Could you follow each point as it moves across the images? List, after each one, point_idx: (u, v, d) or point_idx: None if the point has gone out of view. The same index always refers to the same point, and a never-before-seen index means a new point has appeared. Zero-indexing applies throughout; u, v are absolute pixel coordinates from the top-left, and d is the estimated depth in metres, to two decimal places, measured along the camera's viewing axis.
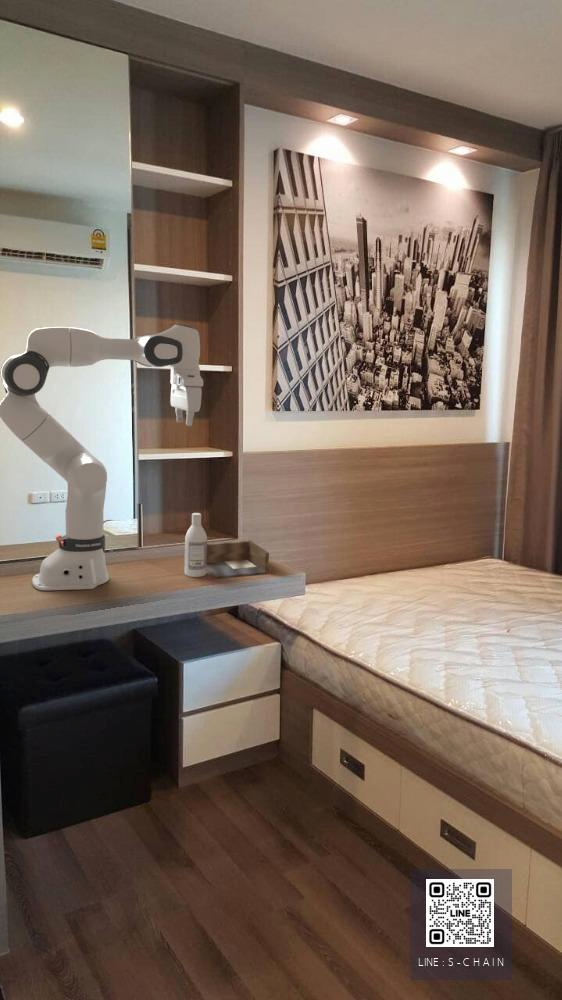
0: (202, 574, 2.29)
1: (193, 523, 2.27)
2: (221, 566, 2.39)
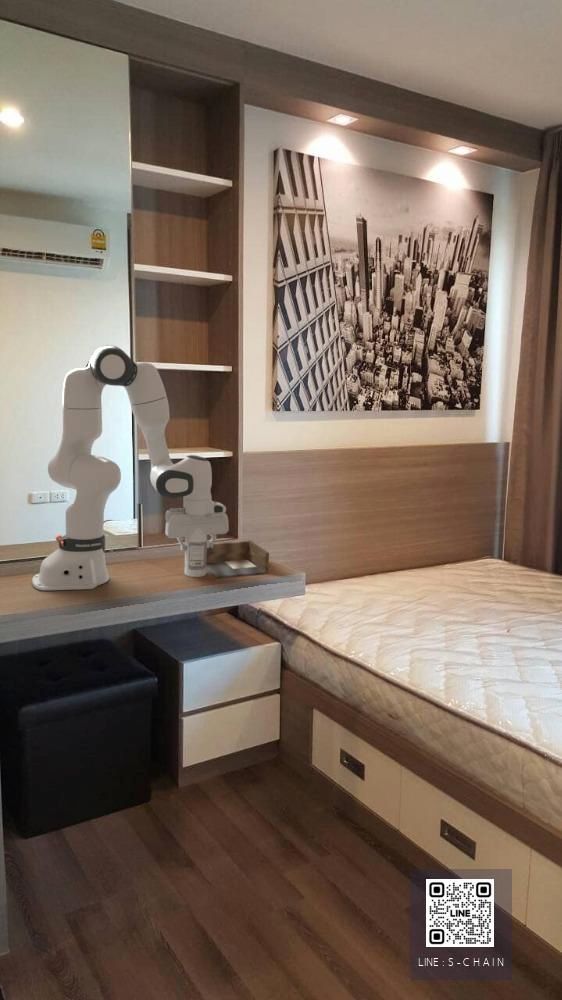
0: (202, 574, 2.29)
1: None
2: (221, 566, 2.39)
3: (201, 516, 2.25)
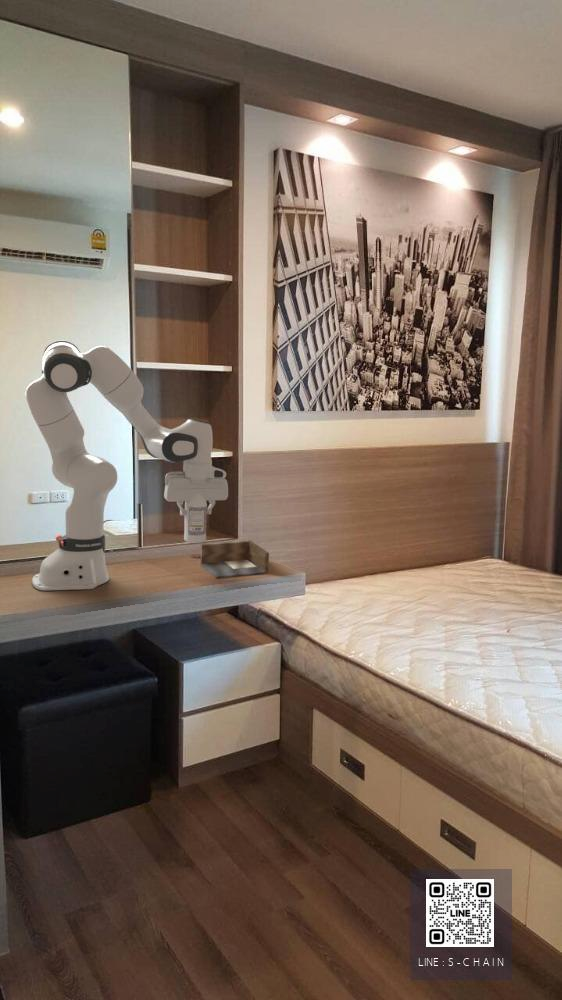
0: (202, 540, 2.27)
1: None
2: (221, 566, 2.39)
3: (201, 480, 2.23)
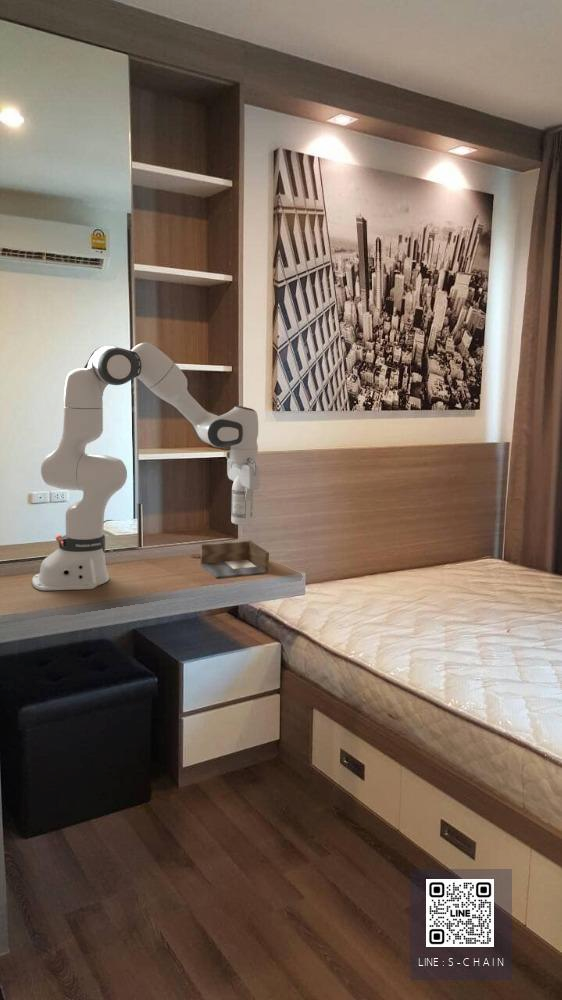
0: None
1: None
2: (221, 566, 2.39)
3: None
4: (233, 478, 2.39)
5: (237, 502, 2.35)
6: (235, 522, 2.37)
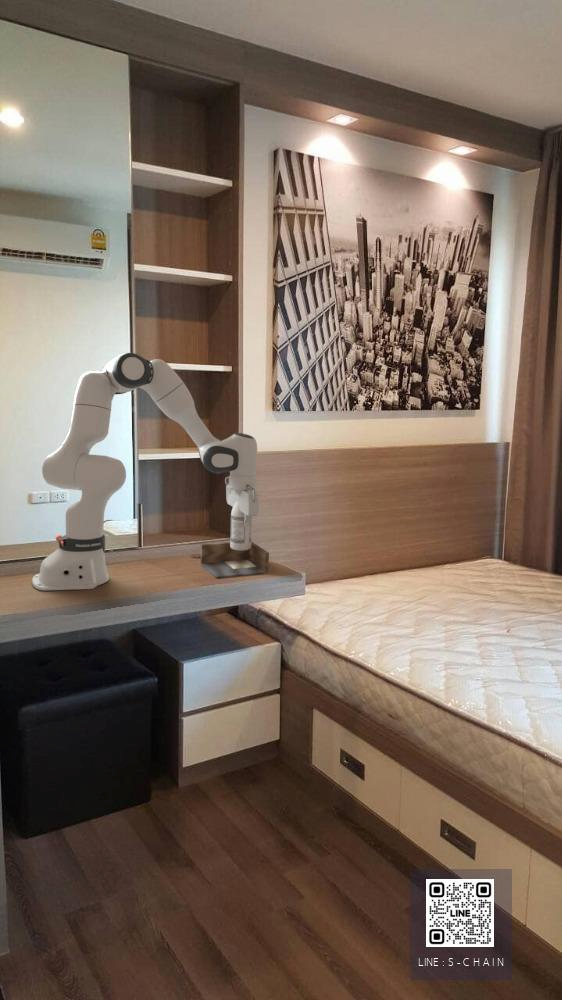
0: None
1: None
2: (221, 566, 2.39)
3: None
4: (232, 504, 2.42)
5: (236, 528, 2.37)
6: (234, 548, 2.39)
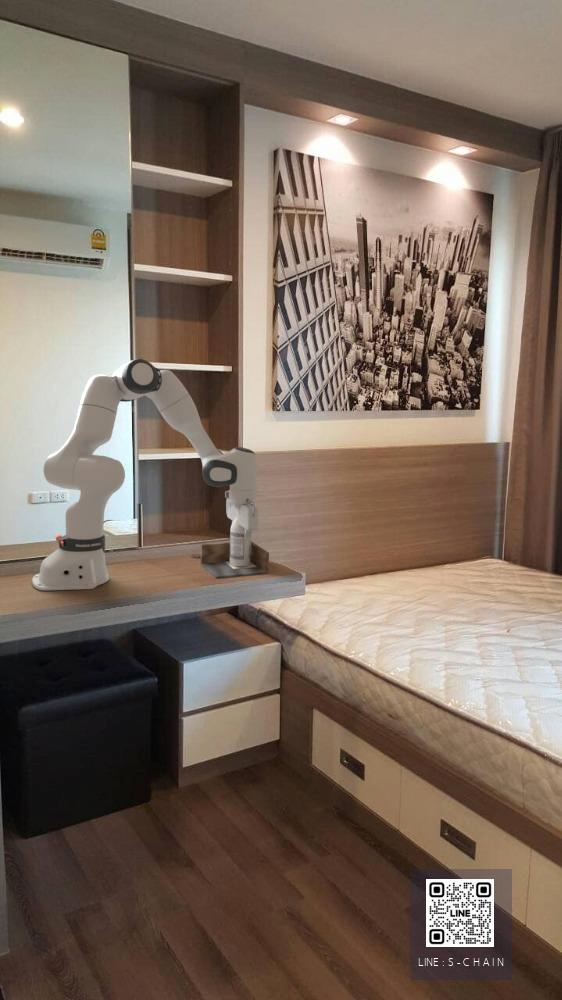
0: None
1: None
2: (221, 566, 2.39)
3: None
4: (232, 518, 2.42)
5: (235, 544, 2.37)
6: (233, 564, 2.39)
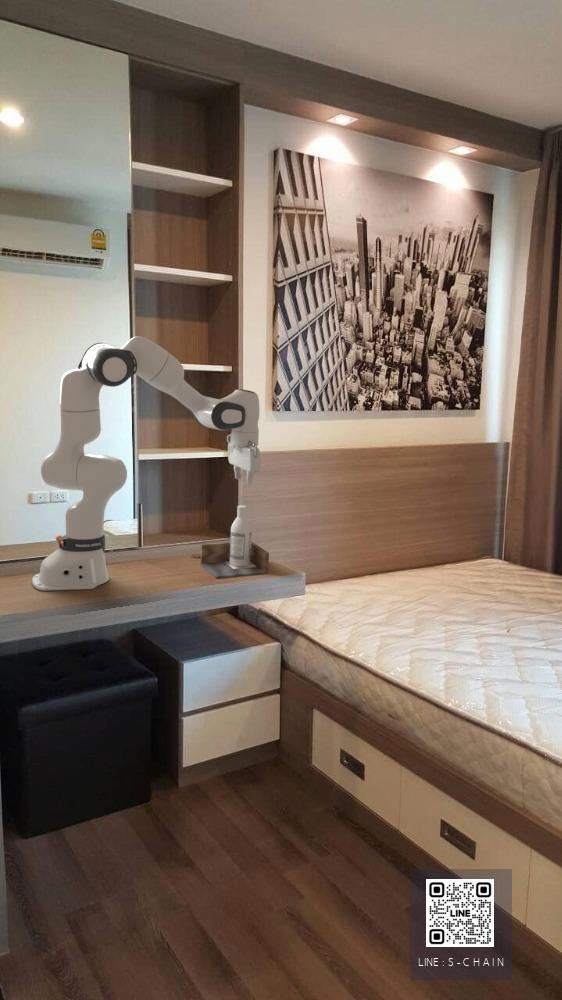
0: None
1: (245, 515, 2.38)
2: (221, 566, 2.39)
3: None
4: (234, 462, 2.38)
5: (235, 544, 2.37)
6: (233, 564, 2.39)
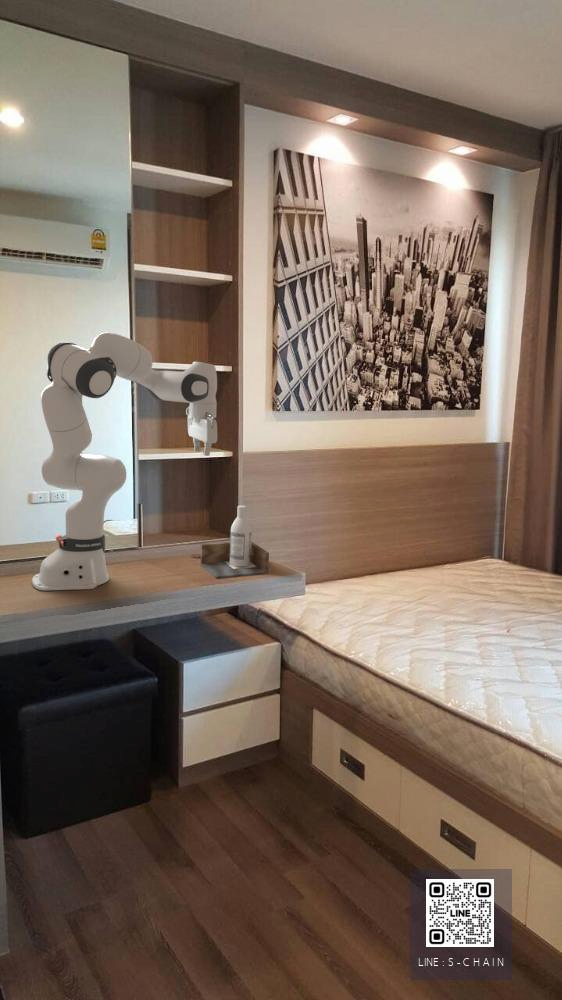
0: None
1: (245, 515, 2.38)
2: (221, 566, 2.39)
3: None
4: (193, 434, 2.41)
5: (235, 544, 2.38)
6: (233, 564, 2.39)
